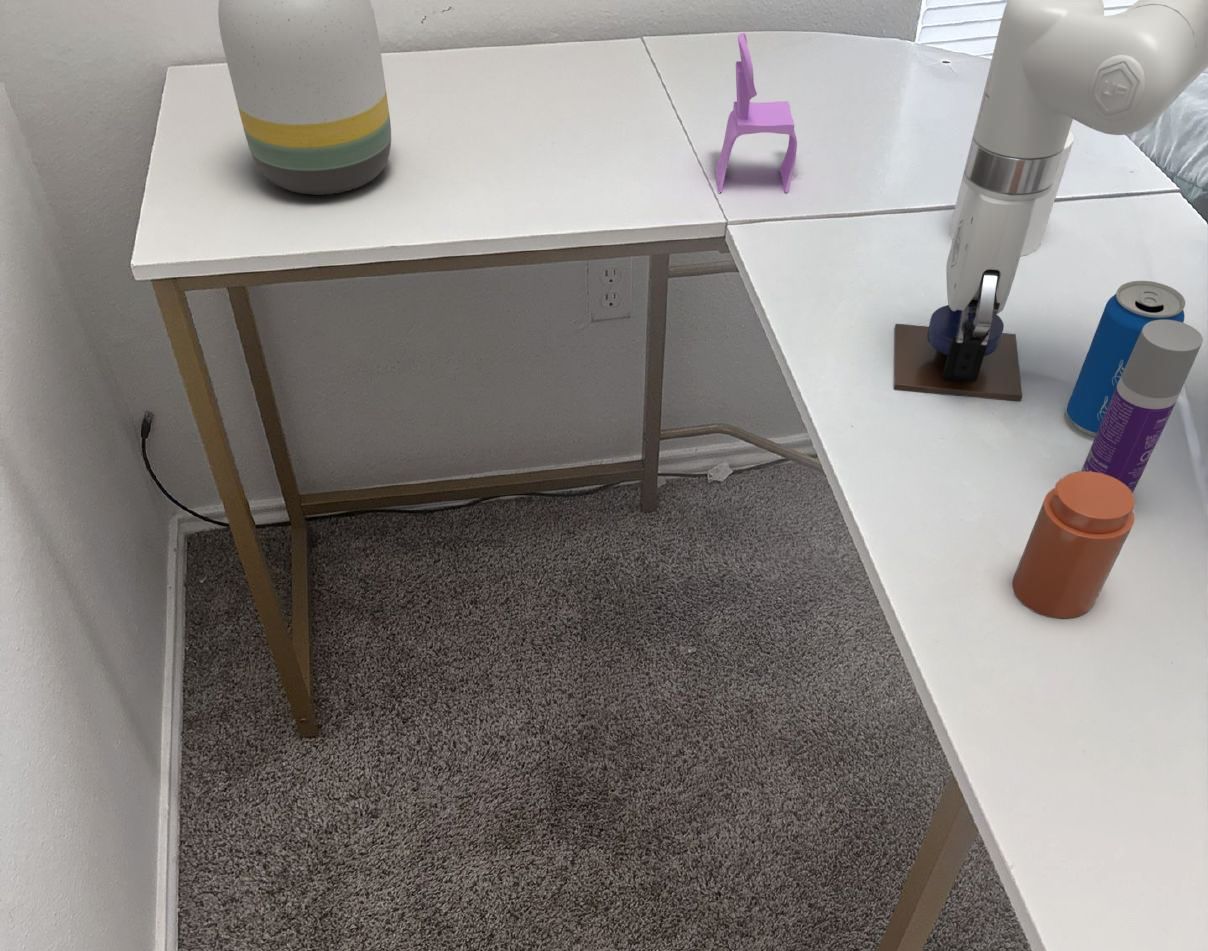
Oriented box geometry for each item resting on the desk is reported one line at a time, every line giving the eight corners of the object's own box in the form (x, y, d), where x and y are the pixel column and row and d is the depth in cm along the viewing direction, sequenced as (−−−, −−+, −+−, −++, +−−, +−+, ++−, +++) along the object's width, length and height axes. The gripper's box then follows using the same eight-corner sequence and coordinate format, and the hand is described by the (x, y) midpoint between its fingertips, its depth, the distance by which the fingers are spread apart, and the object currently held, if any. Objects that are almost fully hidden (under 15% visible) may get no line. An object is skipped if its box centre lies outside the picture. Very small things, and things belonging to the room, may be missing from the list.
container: (1125, 518, 93) (1202, 356, 81) (1069, 505, 94) (1137, 344, 82) (1131, 486, 96) (1206, 325, 84) (1076, 474, 97) (1143, 313, 85)
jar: (1091, 567, 90) (1136, 471, 82) (1099, 623, 86) (1147, 527, 78) (1010, 558, 90) (1047, 462, 83) (1014, 613, 86) (1053, 517, 79)
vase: (296, 223, 125) (239, -31, 105) (233, 169, 133) (170, -76, 114) (423, 182, 131) (392, -65, 111) (356, 133, 139) (315, -105, 120)
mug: (1052, 275, 118) (1087, 170, 109) (957, 271, 118) (984, 166, 110) (1034, 215, 126) (1065, 113, 117) (944, 211, 126) (969, 110, 118)
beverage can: (1061, 435, 100) (1110, 310, 91) (1065, 397, 104) (1112, 273, 94) (1134, 448, 99) (1191, 323, 90) (1135, 408, 103) (1190, 284, 93)
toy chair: (793, 197, 128) (812, 50, 116) (718, 197, 128) (730, 51, 116) (785, 165, 133) (803, 21, 121) (714, 165, 133) (724, 22, 121)
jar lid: (915, 346, 105) (919, 330, 103) (939, 312, 108) (943, 296, 107) (986, 366, 103) (990, 349, 101) (1008, 330, 106) (1013, 314, 105)
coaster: (1014, 339, 110) (1015, 333, 110) (1020, 401, 104) (1022, 395, 103) (894, 328, 111) (895, 323, 111) (893, 389, 105) (894, 384, 104)
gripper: (963, 117, 98) (918, 308, 112) (970, 207, 88) (920, 404, 102) (1049, 123, 97) (992, 314, 112) (1066, 214, 87) (1001, 412, 101)
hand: (958, 356), depth 107 cm, fingers closed on jar lid, 6 cm apart
